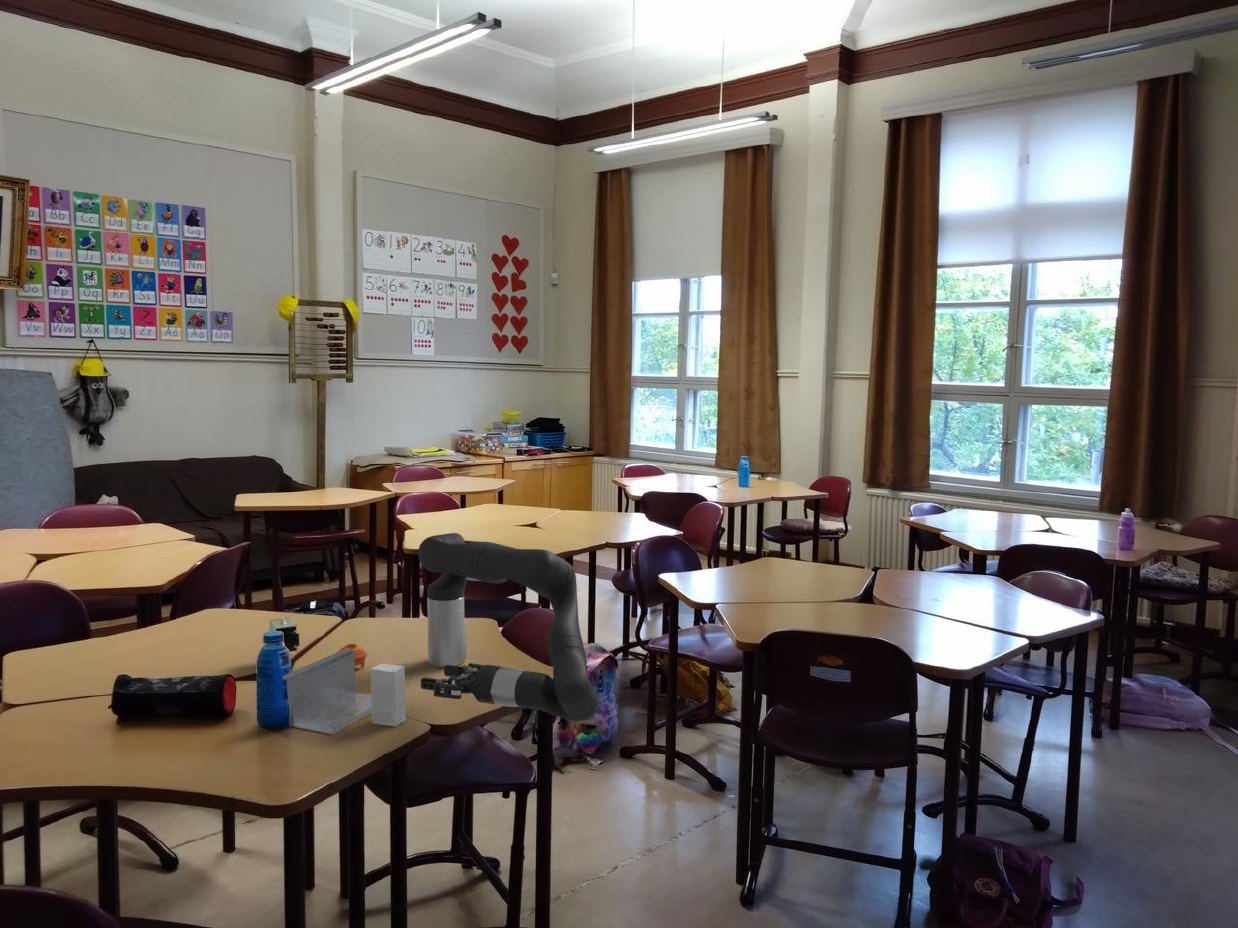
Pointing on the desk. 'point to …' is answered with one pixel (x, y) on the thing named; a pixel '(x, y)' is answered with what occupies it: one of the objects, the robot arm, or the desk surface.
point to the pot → (357, 654)
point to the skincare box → (388, 694)
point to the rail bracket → (326, 694)
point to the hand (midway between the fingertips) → (433, 676)
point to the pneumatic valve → (287, 632)
